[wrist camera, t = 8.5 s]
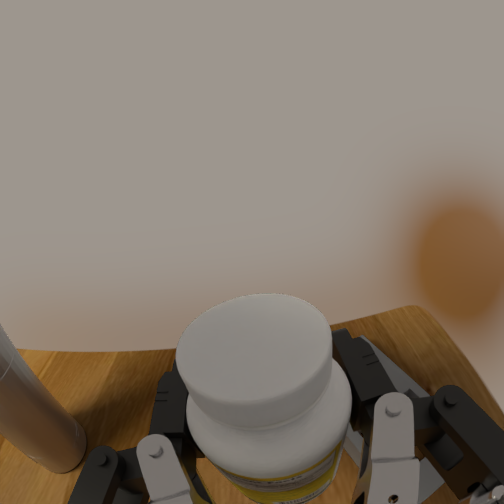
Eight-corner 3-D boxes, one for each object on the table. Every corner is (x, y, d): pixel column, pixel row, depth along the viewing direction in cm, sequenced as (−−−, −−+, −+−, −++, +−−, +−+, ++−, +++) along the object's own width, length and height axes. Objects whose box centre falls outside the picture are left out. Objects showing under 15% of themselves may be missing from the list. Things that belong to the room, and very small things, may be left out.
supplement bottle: (264, 413, 14) (227, 270, 10) (351, 439, 11) (381, 290, 7) (212, 482, 10) (111, 367, 6) (308, 523, 7) (314, 472, 3)
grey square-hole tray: (398, 516, 11) (423, 505, 8) (297, 384, 28) (294, 349, 26) (467, 455, 13) (496, 427, 10) (360, 351, 30) (364, 315, 28)
